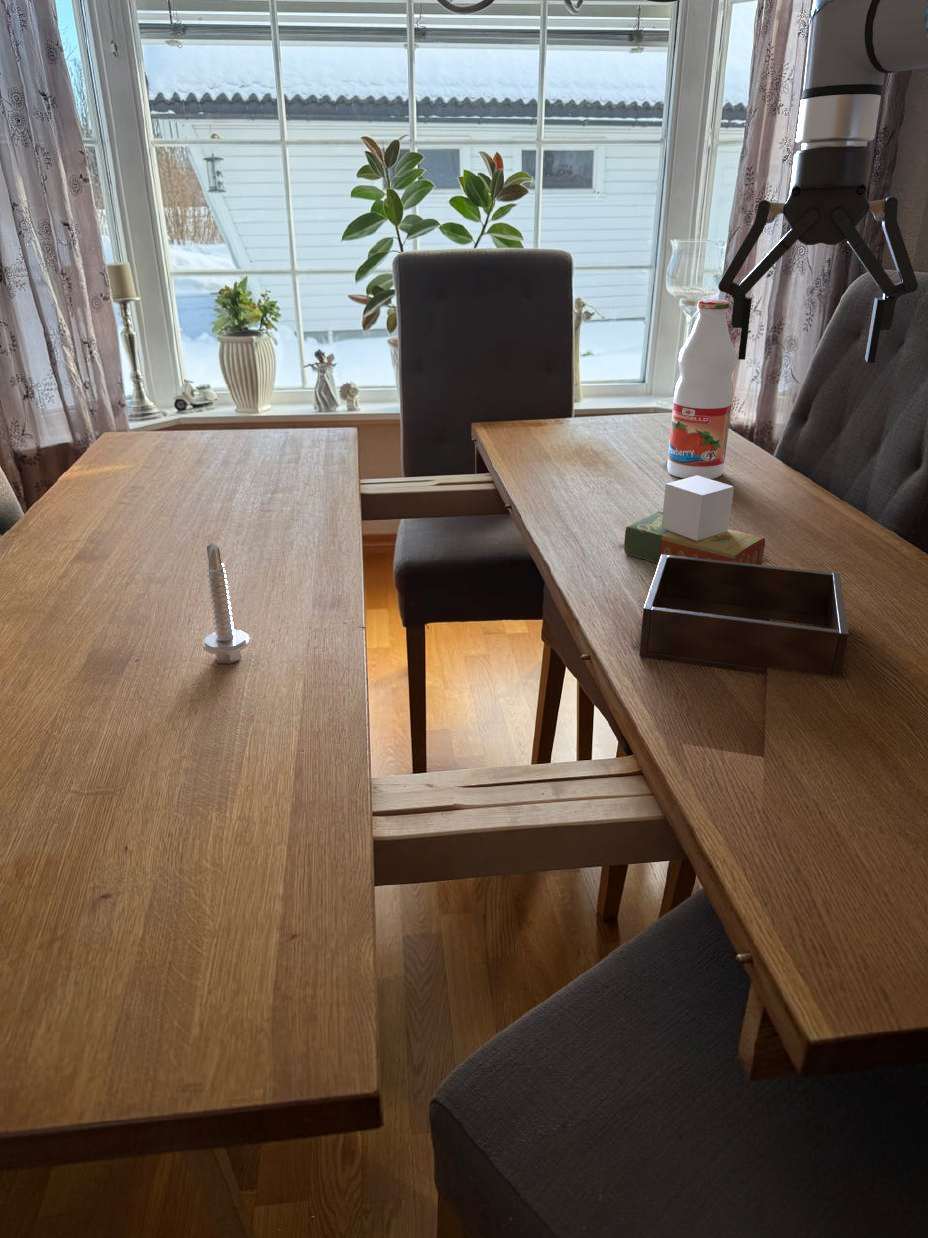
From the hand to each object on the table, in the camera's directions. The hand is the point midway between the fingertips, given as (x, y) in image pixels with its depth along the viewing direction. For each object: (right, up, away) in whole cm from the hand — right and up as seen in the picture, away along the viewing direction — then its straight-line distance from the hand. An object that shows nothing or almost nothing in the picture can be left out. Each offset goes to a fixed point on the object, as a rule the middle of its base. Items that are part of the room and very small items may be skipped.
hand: (804, 359), depth 100 cm
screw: (-63, -34, -6) cm, 72 cm away
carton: (-9, -22, +17) cm, 29 cm away
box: (-8, -31, -3) cm, 32 cm away
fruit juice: (+1, -4, +52) cm, 52 cm away
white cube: (-9, -18, +15) cm, 25 cm away
